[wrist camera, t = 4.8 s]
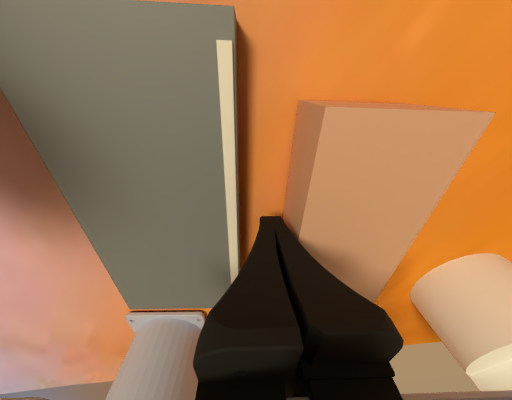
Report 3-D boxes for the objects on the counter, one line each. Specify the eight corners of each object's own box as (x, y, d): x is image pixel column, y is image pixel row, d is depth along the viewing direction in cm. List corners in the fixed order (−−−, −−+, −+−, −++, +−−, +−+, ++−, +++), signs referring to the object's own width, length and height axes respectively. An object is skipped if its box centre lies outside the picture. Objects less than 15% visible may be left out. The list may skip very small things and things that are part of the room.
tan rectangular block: (339, 274, 17) (362, 320, 14) (275, 274, 17) (281, 322, 13) (410, 103, 10) (495, 112, 6) (298, 100, 10) (325, 106, 6)
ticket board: (240, 292, 18) (240, 309, 17) (138, 293, 18) (128, 310, 17) (236, 18, 8) (233, 4, 7) (-6, 6, 8) (-64, -12, 6)
